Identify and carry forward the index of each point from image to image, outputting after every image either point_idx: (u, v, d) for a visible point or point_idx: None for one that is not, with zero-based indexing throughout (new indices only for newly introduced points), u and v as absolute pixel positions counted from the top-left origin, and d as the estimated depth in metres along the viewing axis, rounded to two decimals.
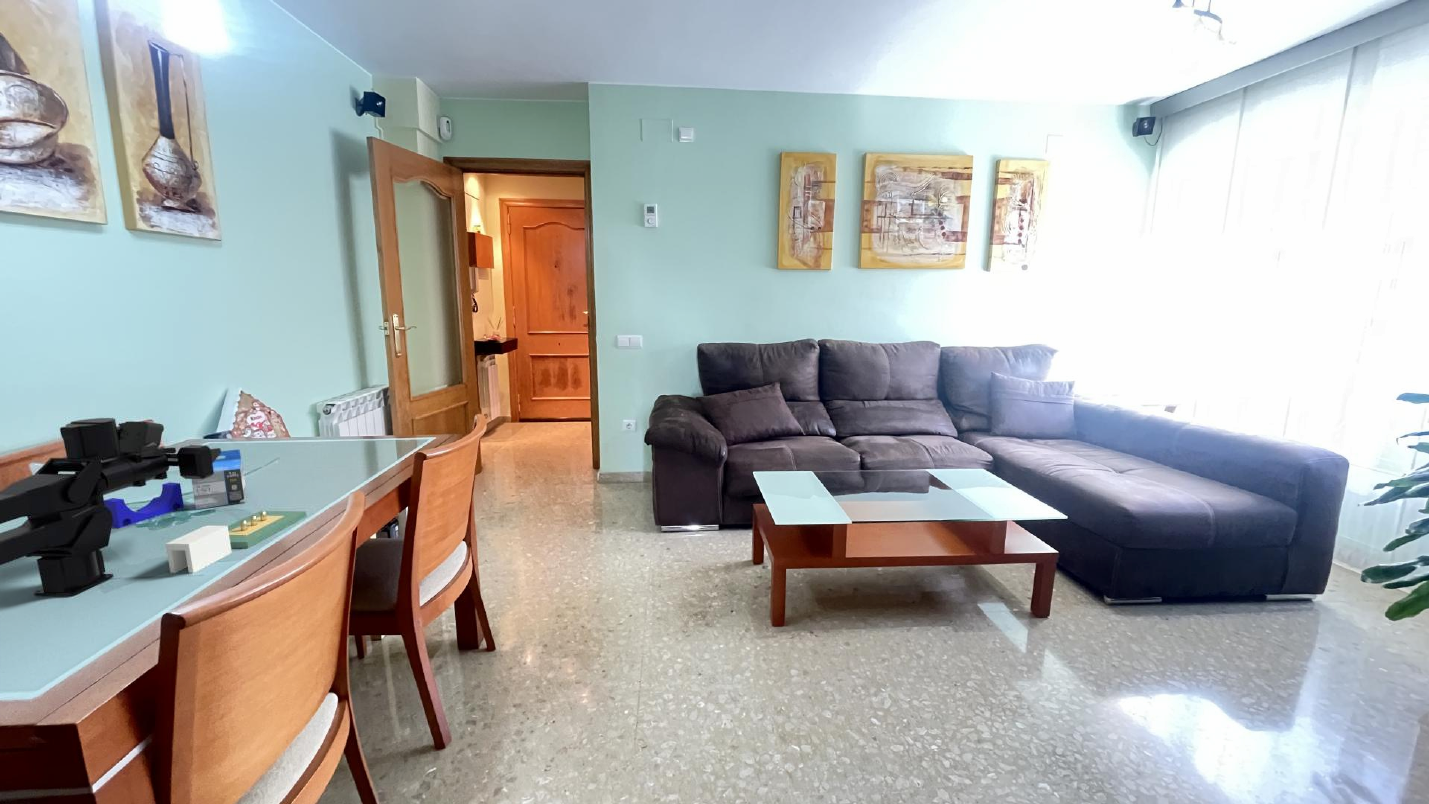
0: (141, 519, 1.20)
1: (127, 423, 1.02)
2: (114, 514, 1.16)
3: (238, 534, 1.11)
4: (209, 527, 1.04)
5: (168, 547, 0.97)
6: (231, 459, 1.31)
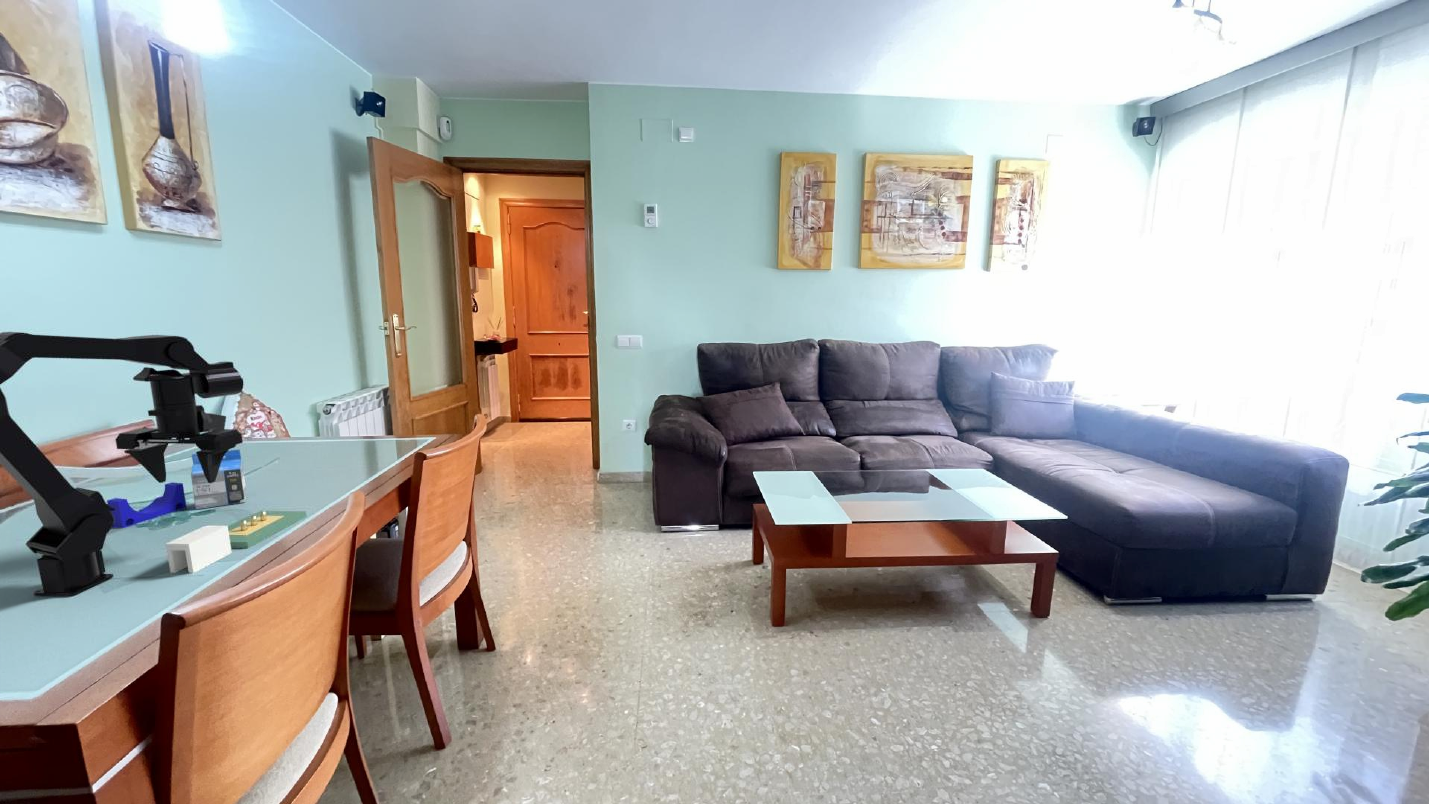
0: (144, 519, 1.20)
1: None
2: (117, 514, 1.16)
3: (238, 534, 1.11)
4: (209, 527, 1.04)
5: (168, 547, 0.97)
6: (231, 459, 1.31)
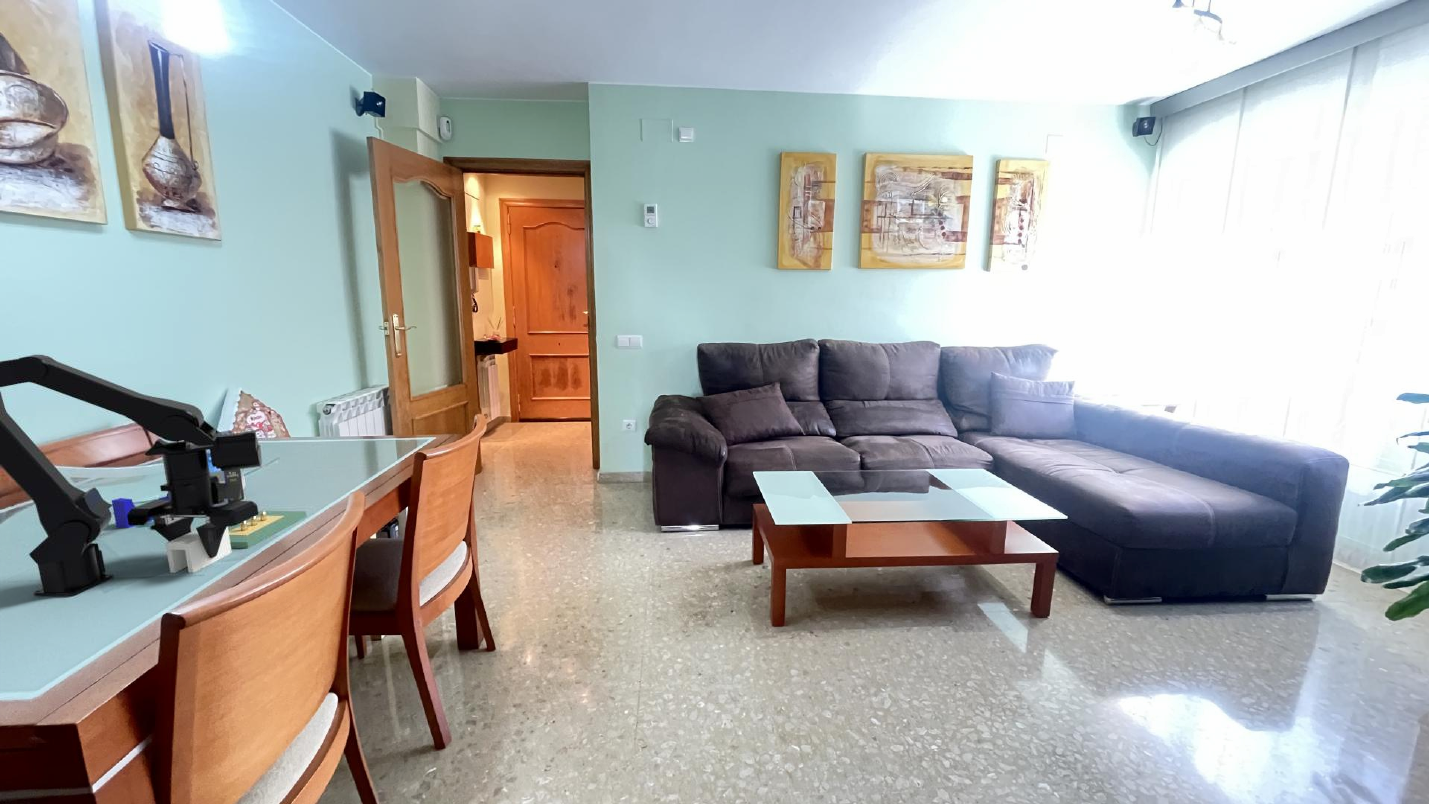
0: None
1: None
2: (122, 514, 1.16)
3: (238, 534, 1.11)
4: None
5: (168, 547, 0.97)
6: None
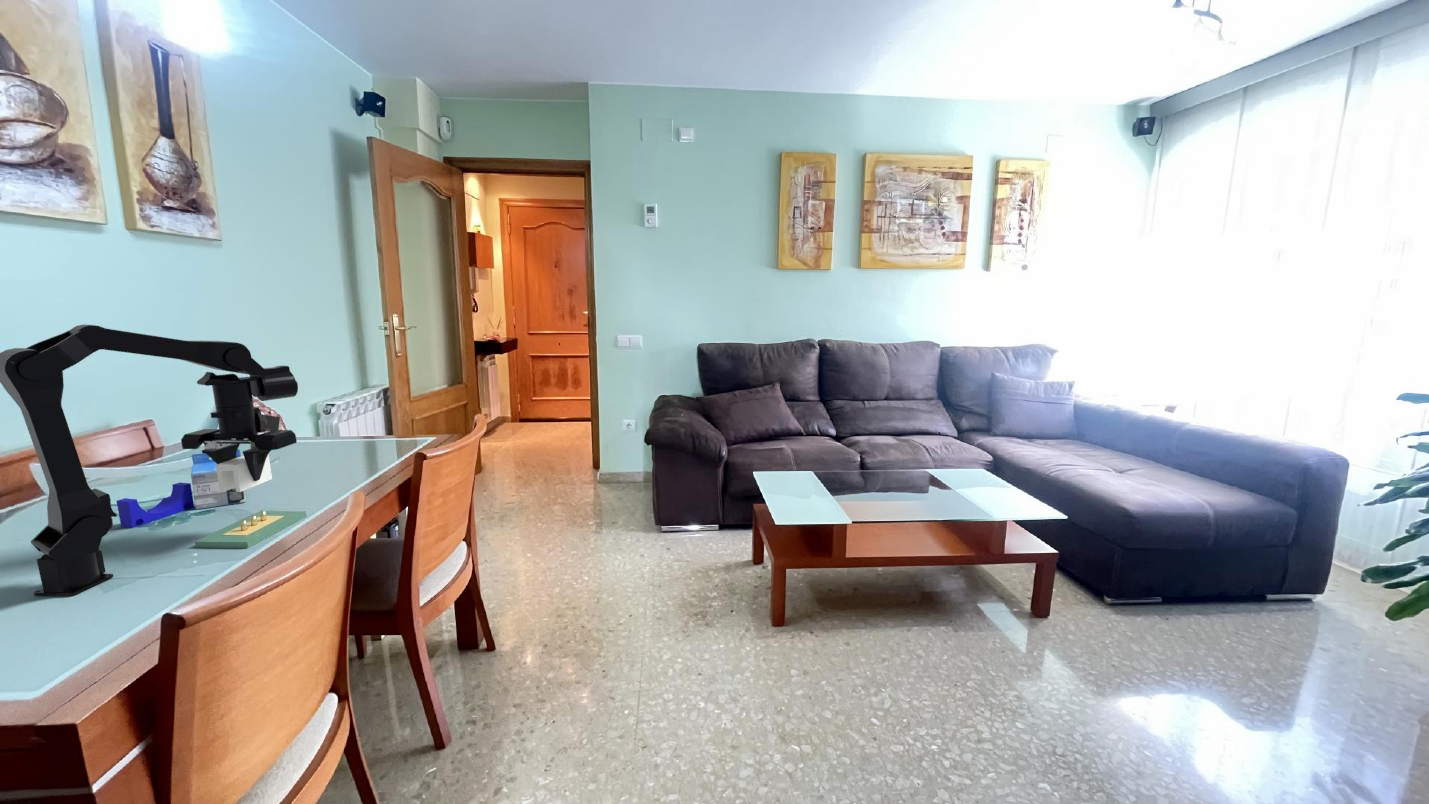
0: (153, 519, 1.20)
1: None
2: (127, 514, 1.16)
3: (238, 534, 1.11)
4: None
5: (218, 468, 1.08)
6: None
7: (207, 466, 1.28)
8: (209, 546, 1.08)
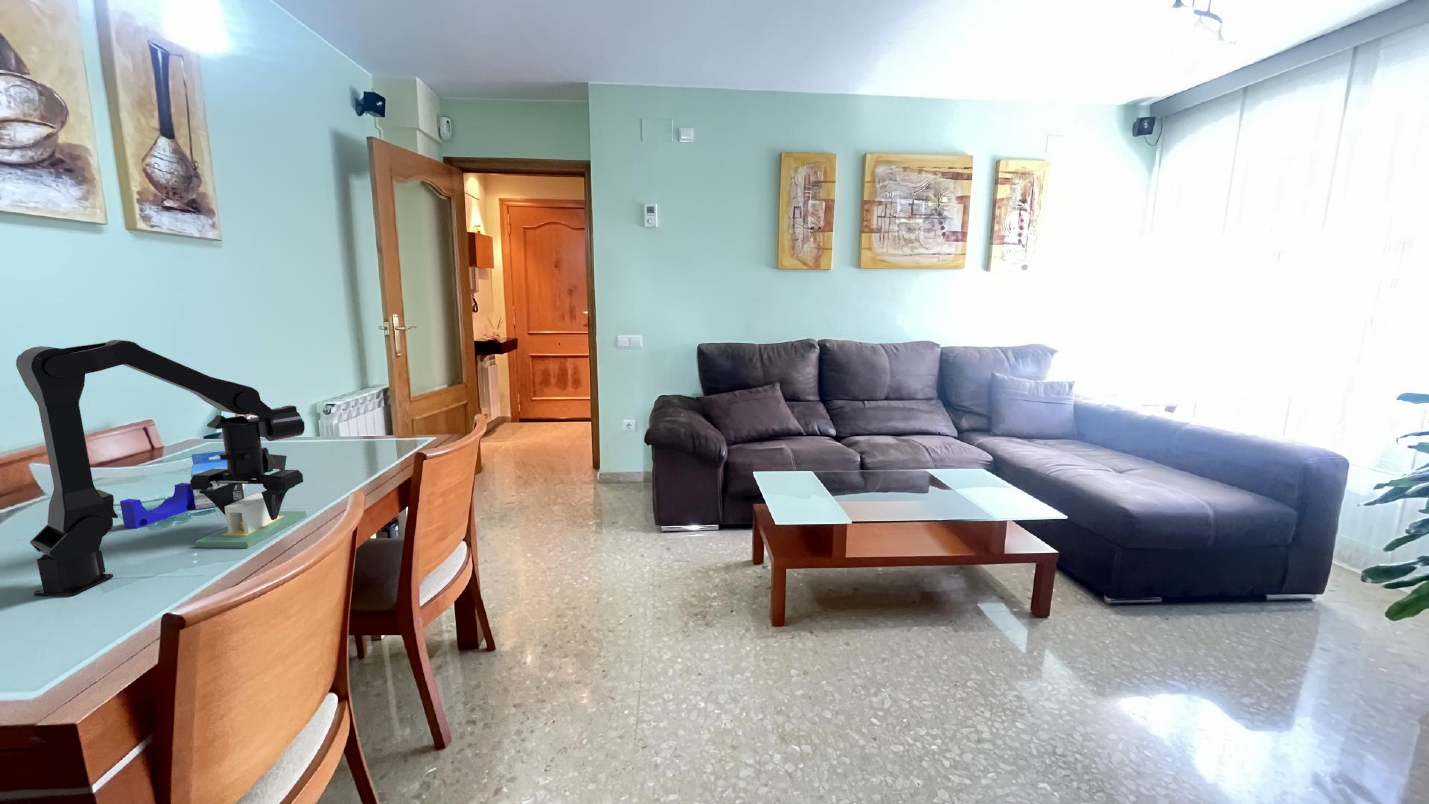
0: (157, 519, 1.20)
1: None
2: (131, 515, 1.16)
3: (238, 534, 1.11)
4: (259, 494, 1.18)
5: (226, 510, 1.11)
6: None
7: (207, 466, 1.28)
8: (209, 546, 1.08)
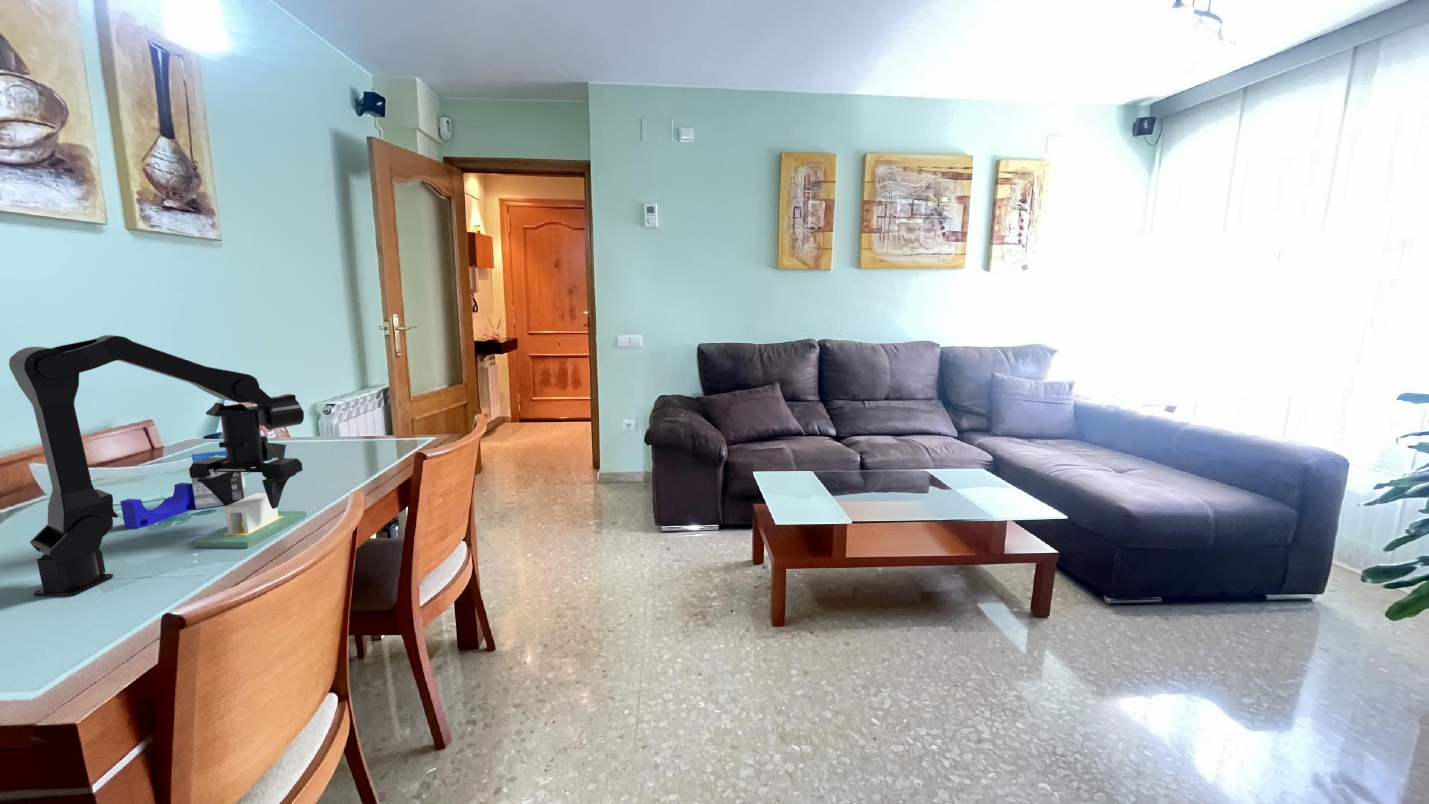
0: (157, 519, 1.20)
1: None
2: (132, 514, 1.16)
3: (238, 534, 1.11)
4: (259, 494, 1.18)
5: (226, 510, 1.11)
6: None
7: None
8: (209, 546, 1.08)
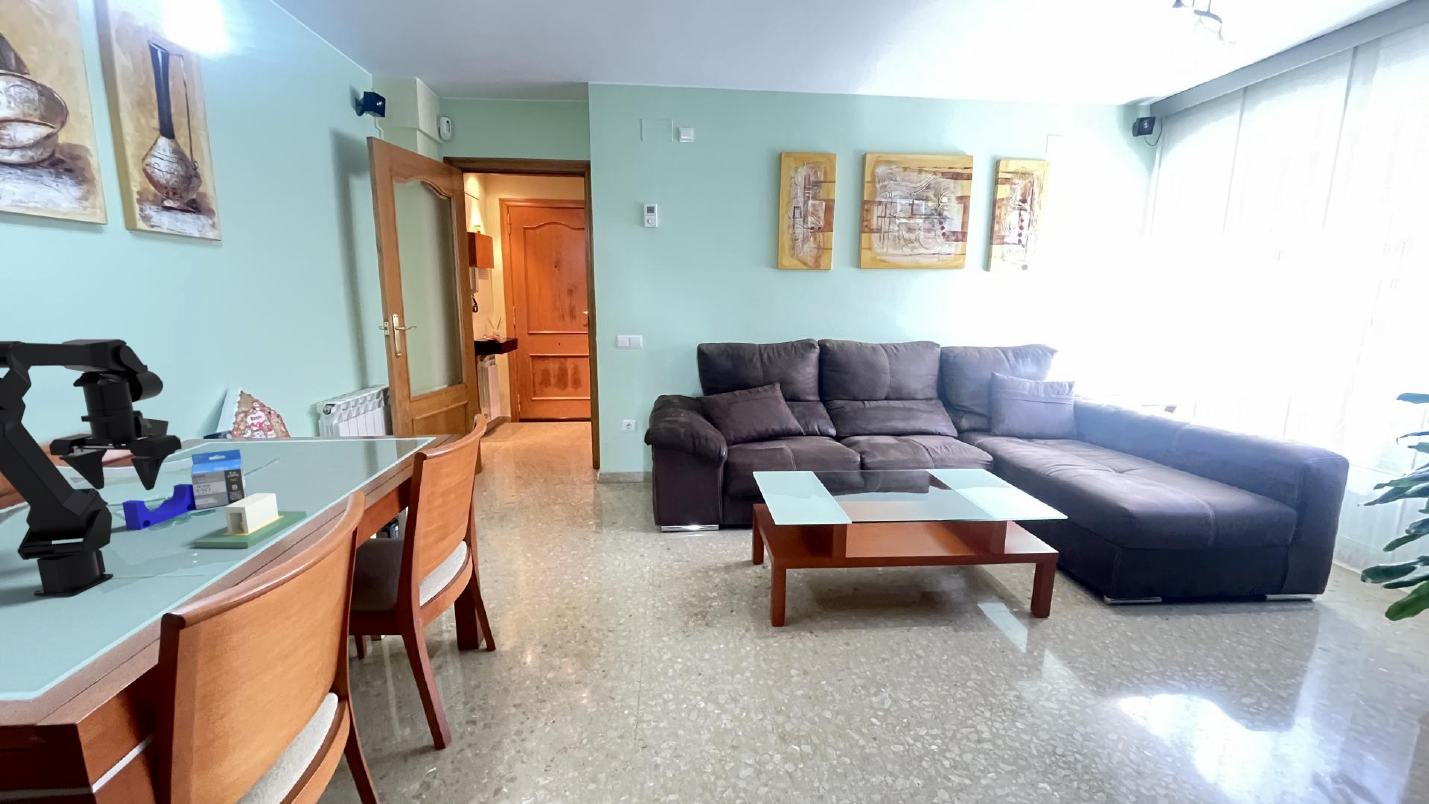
0: (159, 520, 1.19)
1: None
2: (134, 516, 1.15)
3: (238, 534, 1.11)
4: (259, 494, 1.18)
5: (226, 510, 1.11)
6: (231, 459, 1.31)
7: (207, 466, 1.28)
8: (209, 546, 1.08)
